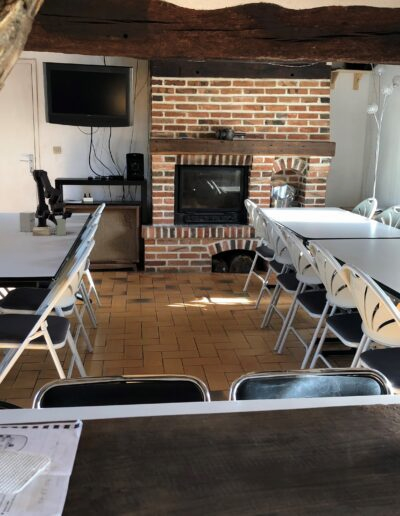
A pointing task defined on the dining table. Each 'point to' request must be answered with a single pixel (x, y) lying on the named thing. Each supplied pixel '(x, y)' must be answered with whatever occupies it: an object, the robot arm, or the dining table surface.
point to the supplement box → (27, 221)
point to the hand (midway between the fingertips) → (61, 224)
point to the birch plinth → (41, 231)
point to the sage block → (60, 227)
